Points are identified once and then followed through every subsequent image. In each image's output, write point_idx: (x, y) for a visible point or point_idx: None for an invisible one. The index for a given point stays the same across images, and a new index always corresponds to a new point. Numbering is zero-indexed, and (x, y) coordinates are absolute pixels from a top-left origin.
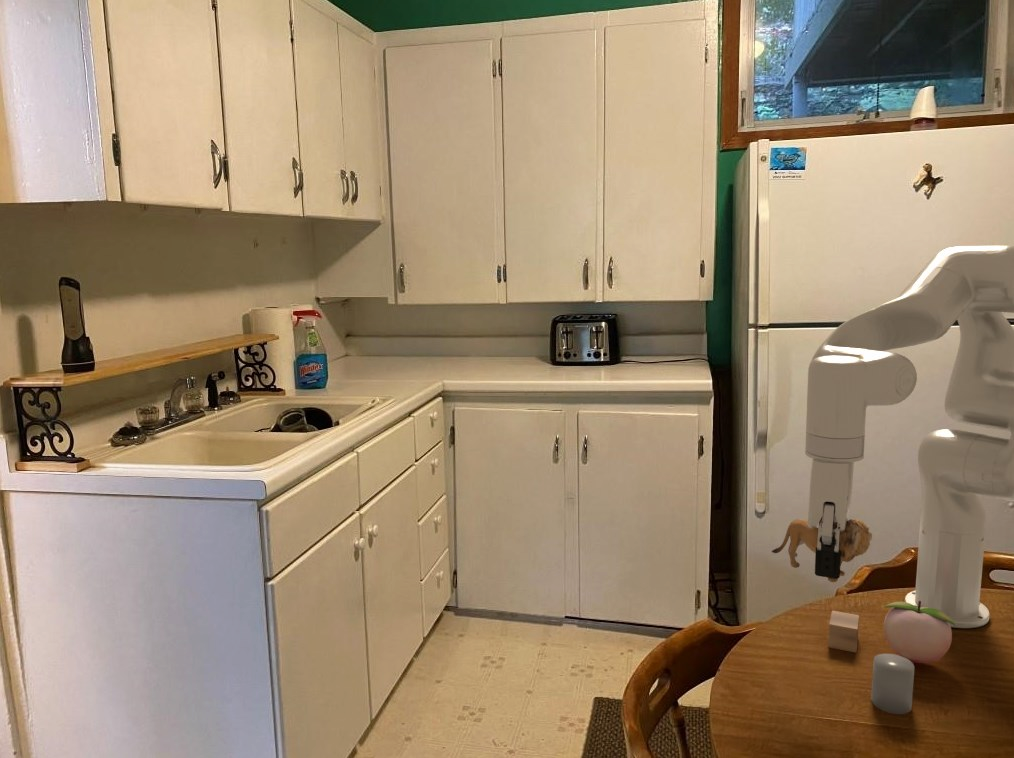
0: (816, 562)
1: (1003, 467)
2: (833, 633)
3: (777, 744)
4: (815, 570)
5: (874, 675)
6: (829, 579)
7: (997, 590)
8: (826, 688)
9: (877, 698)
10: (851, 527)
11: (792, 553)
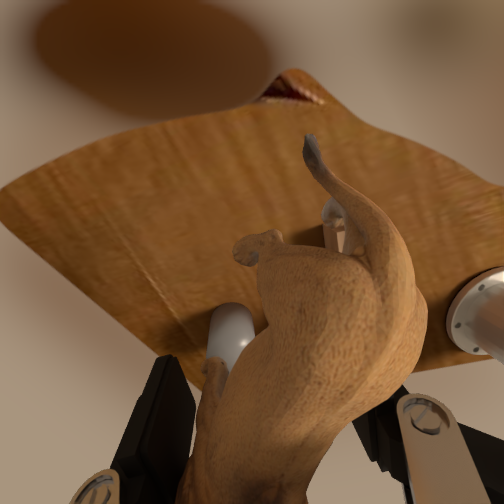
0: (143, 397)
1: None
2: (331, 235)
3: (51, 255)
4: (154, 367)
5: (216, 328)
6: (201, 366)
7: None
8: (213, 257)
9: (212, 318)
10: None
11: (259, 250)
